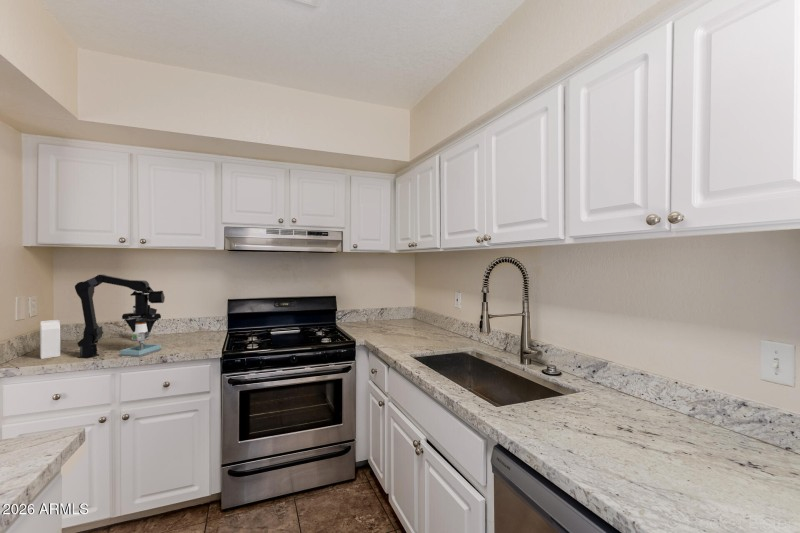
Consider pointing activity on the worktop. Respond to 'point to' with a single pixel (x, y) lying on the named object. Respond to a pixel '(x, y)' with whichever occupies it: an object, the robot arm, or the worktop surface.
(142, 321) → the vodka
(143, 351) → the tray
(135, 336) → the mechanical component
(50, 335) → the milk carton
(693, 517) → the worktop surface
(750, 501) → the worktop surface
